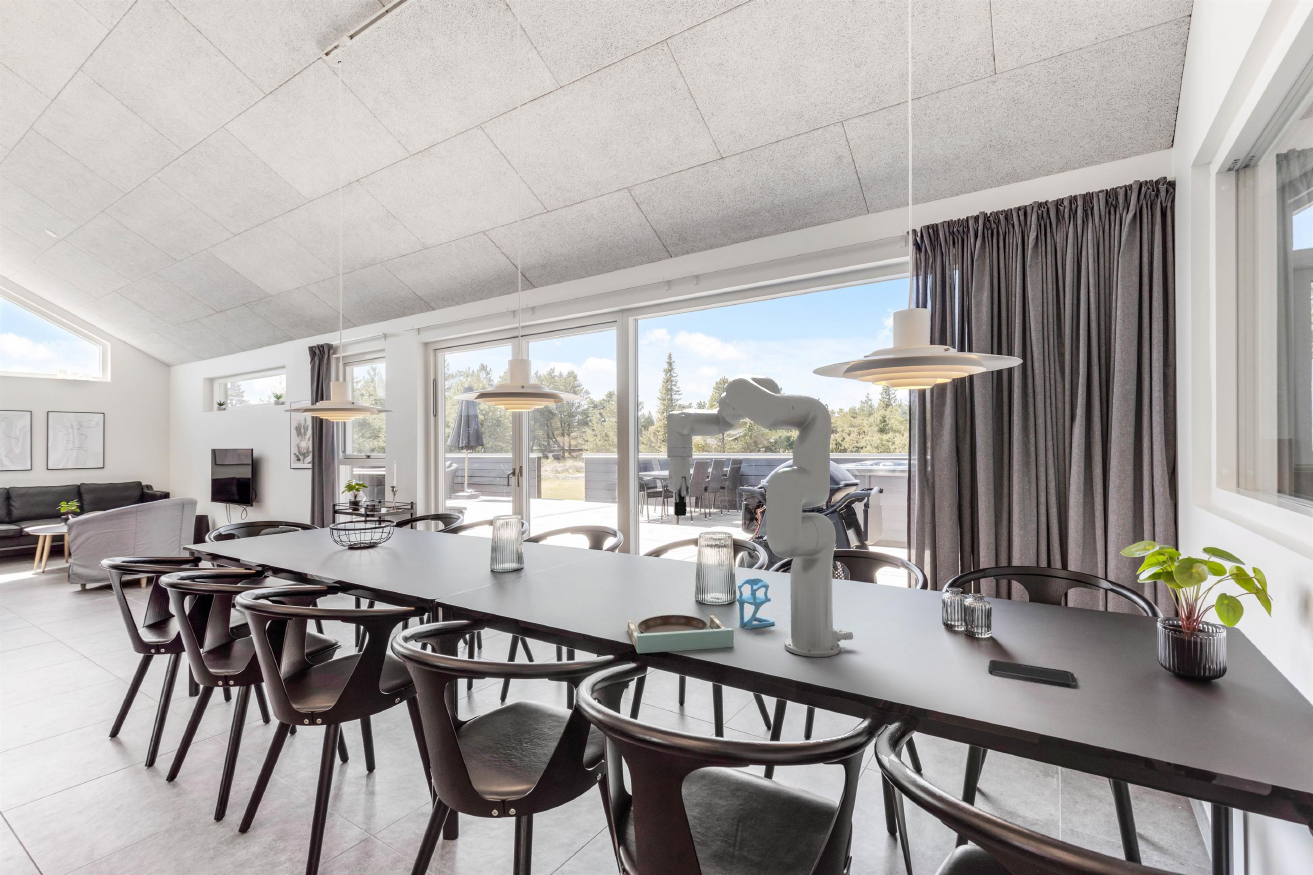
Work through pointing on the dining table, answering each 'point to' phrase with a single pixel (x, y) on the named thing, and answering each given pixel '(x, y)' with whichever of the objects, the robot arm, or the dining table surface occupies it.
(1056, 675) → the phone
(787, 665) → the dining table surface
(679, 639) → the saucer dock
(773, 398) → the robot arm
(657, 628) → the plant saucer
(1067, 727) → the dining table surface
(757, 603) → the chair
